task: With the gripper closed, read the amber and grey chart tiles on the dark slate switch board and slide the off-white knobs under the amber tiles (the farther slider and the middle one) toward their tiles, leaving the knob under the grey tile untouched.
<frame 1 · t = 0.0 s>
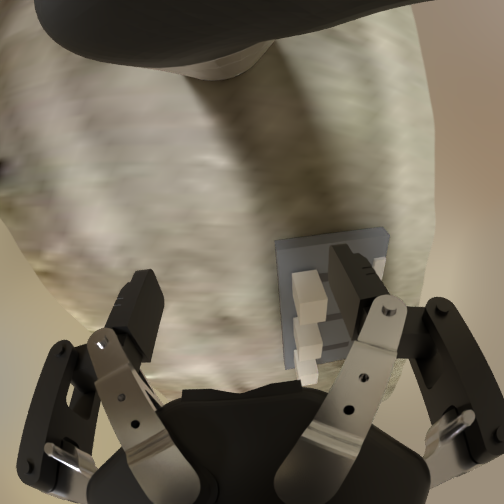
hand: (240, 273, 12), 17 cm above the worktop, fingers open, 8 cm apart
slider 2: (308, 297, 30), point 5 cm above the worktop, slide at 0.0 cm
slider 1: (305, 366, 39), point 5 cm above the worktop, slide at 0.0 cm
switch board: (326, 307, 39), on the worktop
slider middle: (307, 338, 35), point 5 cm above the worktop, slide at 0.0 cm
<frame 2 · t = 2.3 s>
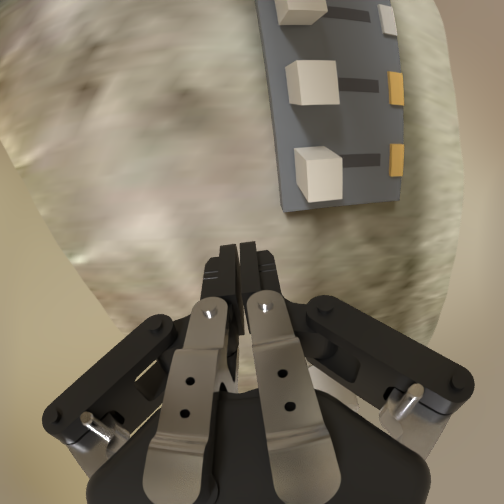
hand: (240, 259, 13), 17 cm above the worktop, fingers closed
slider 2: (298, 1, 14), point 5 cm above the worktop, slide at 0.0 cm
toilet tissue: (319, 375, 50), on the worktop
slider 1: (317, 171, 23), point 5 cm above the worktop, slide at 0.0 cm
switch board: (335, 84, 23), on the worktop
slider middle: (310, 83, 19), point 5 cm above the worktop, slide at 0.0 cm
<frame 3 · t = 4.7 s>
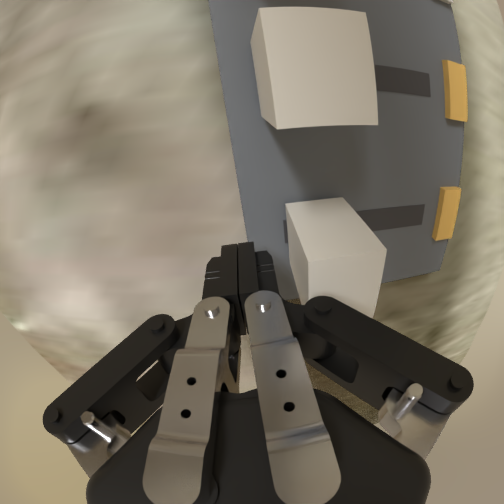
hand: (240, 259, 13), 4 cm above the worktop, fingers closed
slider 1: (328, 257, 12), point 5 cm above the worktop, slide at 0.7 cm, touching gripper
switch board: (352, 78, 12), on the worktop
slider middle: (303, 70, 8), point 5 cm above the worktop, slide at 0.0 cm
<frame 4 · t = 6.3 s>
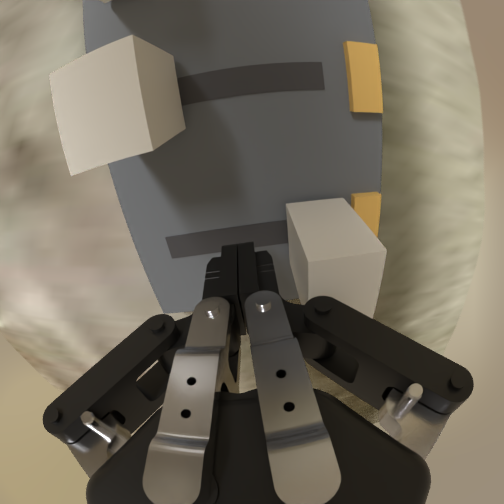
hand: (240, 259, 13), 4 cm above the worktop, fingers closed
slider 1: (328, 258, 12), point 5 cm above the worktop, slide at 7.1 cm, touching gripper
switch board: (236, 83, 12), on the worktop
slider middle: (126, 102, 8), point 5 cm above the worktop, slide at 0.0 cm
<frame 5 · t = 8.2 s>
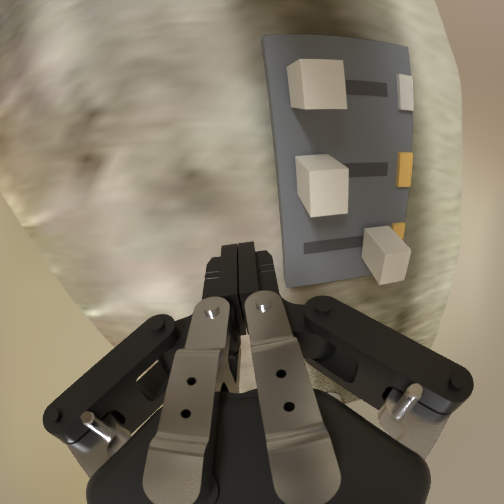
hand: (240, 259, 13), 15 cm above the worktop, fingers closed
slider 2: (314, 85, 17), point 5 cm above the worktop, slide at 0.0 cm
slider 1: (384, 253, 25), point 5 cm above the worktop, slide at 7.1 cm
switch board: (344, 164, 25), on the worktop
slider middle: (320, 182, 21), point 5 cm above the worktop, slide at 0.0 cm
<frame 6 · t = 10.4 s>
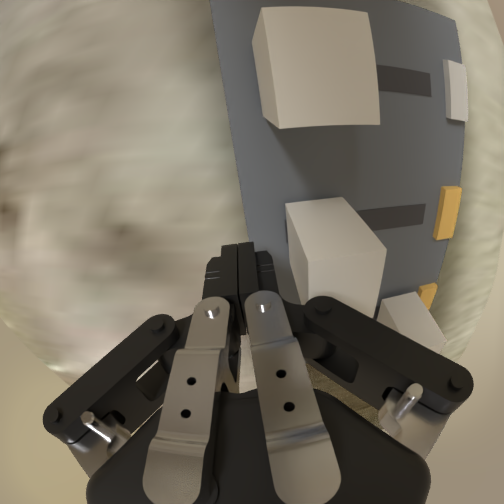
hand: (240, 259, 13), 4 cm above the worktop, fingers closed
slider 2: (305, 70, 8), point 5 cm above the worktop, slide at 0.0 cm
slider 1: (407, 336, 16), point 5 cm above the worktop, slide at 7.1 cm
switch board: (357, 206, 16), on the worktop
slider middle: (328, 257, 12), point 5 cm above the worktop, slide at 0.6 cm, touching gripper
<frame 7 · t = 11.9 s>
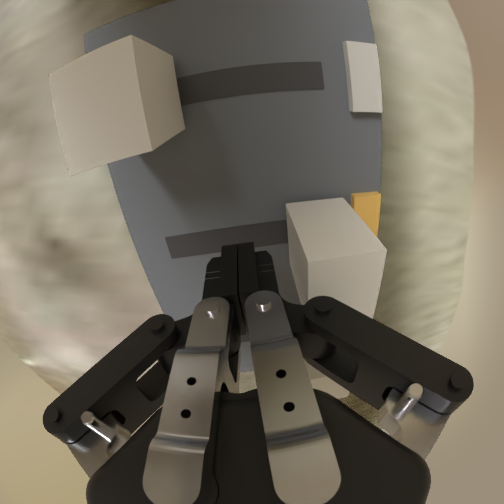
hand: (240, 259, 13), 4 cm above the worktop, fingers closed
slider 2: (126, 102, 8), point 5 cm above the worktop, slide at 0.0 cm
slider 1: (320, 358, 16), point 5 cm above the worktop, slide at 7.1 cm
switch board: (255, 219, 16), on the worktop
slider middle: (328, 258, 12), point 5 cm above the worktop, slide at 7.1 cm, touching gripper
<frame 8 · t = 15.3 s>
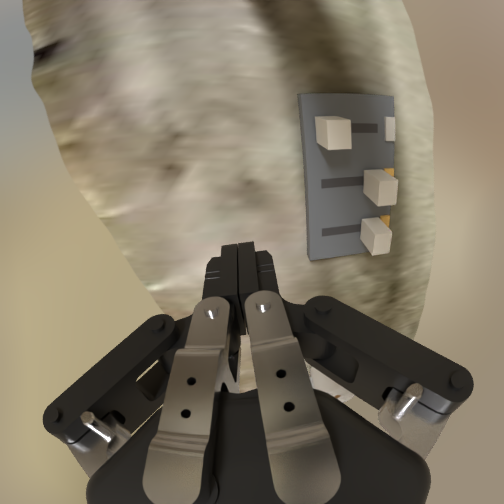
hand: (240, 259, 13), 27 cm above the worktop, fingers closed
slider 2: (332, 131, 30), point 5 cm above the worktop, slide at 0.0 cm
toilet tissue: (326, 366, 66), on the worktop
slider 1: (375, 235, 39), point 5 cm above the worktop, slide at 7.1 cm
switch board: (348, 177, 38), on the worktop
slider middle: (379, 186, 34), point 5 cm above the worktop, slide at 7.1 cm
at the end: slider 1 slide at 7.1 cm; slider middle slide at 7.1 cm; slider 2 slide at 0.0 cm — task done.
